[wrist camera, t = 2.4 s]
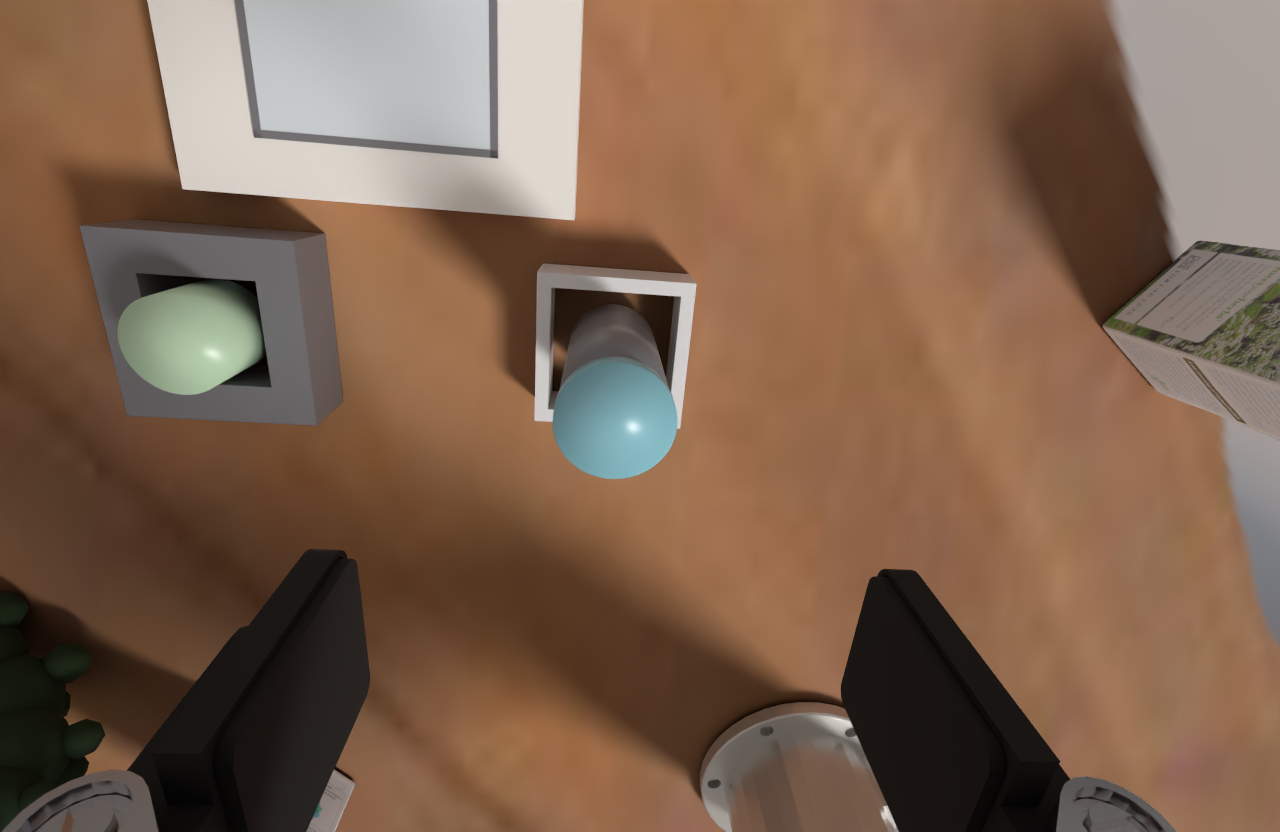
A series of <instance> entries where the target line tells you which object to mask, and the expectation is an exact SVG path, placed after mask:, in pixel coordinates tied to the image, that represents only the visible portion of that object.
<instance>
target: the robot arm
mask: <svg viewBox="0 0 1280 832" xmlns="http://www.w3.org/2000/svg"><path fill="white" fill-rule="evenodd" d="M369 682H370V672H369V663H368V654H367V646H366V637H365V628H364V620H363V611H362V602H361V593H360V585H359V576H358V567H357V563H356V561H355V560H354V559H347V555H346V553H345V552H344V551H342V550H317V549H310V550H307V551H306V552H305V553H304V554H303V555H302V557H301V558H300V559H299V561H298V562H297V563H296V564H295V566H294V567H293V568H292V570H291V571H290V572H289V574H288V575H287V576H286V578H285V579H284V580H283V581H282V583H281V584H280V585H279V587H278V588H277V589H276V591H275V592H274V593H273V595H272V596H271V597H270V599H269V600H268V601H267V602H266V604H265V605H264V606H263V608H262V609H261V610H260V612H259V613H258V614H257V616H256V617H255V618H254V619H253V621H252V622H251V623H250V625H249V626H245V627H243V628H240V629H239V630H238V631H237V632H236V633H235V634H234V635H233V636H232V637H231V638H230V639H229V641H228V642H227V643H226V644H225V646H224V647H223V648H222V649H221V651H220V652H219V653H218V655H217V656H216V657H215V658H214V660H213V661H212V662H211V664H210V665H209V666H208V667H207V669H206V670H205V671H204V673H203V674H202V675H201V676H200V678H199V679H198V680H197V681H196V683H195V684H194V685H193V687H192V688H191V689H190V690H189V692H188V693H187V694H186V696H185V697H184V698H183V699H182V701H181V702H180V703H179V705H178V706H177V707H176V708H175V710H174V711H173V712H172V713H171V715H170V716H169V717H168V719H167V720H166V721H165V722H164V724H163V725H162V726H161V728H160V729H159V730H158V731H157V733H156V734H155V735H154V736H153V738H152V739H151V740H150V742H149V743H148V744H147V745H146V747H145V748H144V749H143V751H142V752H141V753H140V754H139V756H138V757H137V758H136V760H135V761H134V762H133V763H132V765H131V766H130V767H129V768H128V770H127V771H123V770H108V771H102V772H96V773H91V774H88V775H85V776H82V777H80V778H77V779H74V780H71V781H68V782H66V783H65V784H63V785H61V786H59V787H57V788H55V789H53V790H52V791H50V792H48V793H46V794H44V795H43V796H41V797H40V798H39V799H37V800H36V801H35V802H33V803H32V804H31V805H29V806H28V807H26V808H25V809H24V810H22V811H21V812H20V813H19V814H18V815H17V816H16V817H15V818H14V819H13V820H12V821H11V822H10V823H9V824H8V825H7V826H6V827H5V828H4V830H3V831H2V832H306V831H307V829H308V827H309V825H310V822H311V820H312V818H313V816H314V813H315V811H316V809H317V807H318V804H319V802H320V800H321V798H322V795H323V793H324V791H325V789H326V786H327V784H328V782H329V780H330V777H331V775H332V773H333V771H334V768H335V766H336V764H337V762H338V759H339V757H340V755H341V753H342V750H343V748H344V746H345V744H346V741H347V739H348V737H349V735H350V732H351V730H352V728H353V726H354V723H355V721H356V719H357V716H358V714H359V712H360V710H361V707H362V705H363V703H364V701H365V698H366V696H367V692H368V689H369ZM841 697H842V702H843V705H844V708H845V709H844V708H842V707H839V706H836V705H830V704H825V703H819V702H796V703H788V704H781V705H777V706H773V707H770V708H766V709H763V710H760V711H758V712H756V713H753V714H751V715H749V716H746V717H745V718H743V719H742V720H740V721H738V722H737V723H735V724H733V725H732V726H731V727H729V728H728V729H727V730H726V731H725V732H724V733H722V734H721V735H720V736H719V737H718V738H717V740H716V741H715V742H714V743H713V745H712V746H711V747H710V748H709V750H708V752H707V754H706V756H705V758H704V760H703V762H702V767H701V771H700V789H701V794H702V799H703V804H704V806H705V808H706V811H707V813H708V815H709V816H710V817H711V818H712V820H713V821H714V822H715V823H716V824H717V825H718V826H719V827H720V828H722V829H723V830H724V831H726V832H1176V831H1175V829H1174V828H1173V827H1172V826H1171V825H1170V824H1169V823H1168V822H1167V820H1166V819H1165V818H1164V817H1163V816H1162V815H1161V814H1160V813H1159V812H1158V811H1156V810H1155V809H1154V808H1153V807H1151V806H1150V805H1149V804H1148V803H1146V802H1145V801H1144V800H1143V799H1141V798H1140V797H1138V796H1136V795H1135V794H1133V793H1131V792H1130V791H1128V790H1126V789H1125V788H1123V787H1121V786H1118V785H1116V784H1113V783H1111V782H1108V781H1106V780H1103V779H1098V778H1093V777H1088V776H1087V777H1075V778H1072V779H1071V780H1070V778H1069V777H1068V776H1067V774H1066V773H1065V772H1064V770H1063V769H1062V768H1061V766H1060V765H1059V763H1060V761H1059V759H1058V758H1057V757H1056V755H1055V754H1054V753H1053V751H1052V750H1051V749H1050V747H1049V746H1048V745H1047V743H1046V742H1045V741H1044V739H1043V738H1042V737H1041V735H1040V734H1039V733H1038V732H1037V730H1036V729H1035V728H1034V726H1033V725H1032V724H1031V722H1030V721H1029V720H1028V718H1027V717H1026V716H1025V714H1024V713H1023V712H1022V710H1021V709H1020V708H1019V706H1018V705H1017V704H1016V702H1015V701H1014V700H1013V698H1012V697H1011V696H1010V694H1009V693H1008V692H1007V691H1006V689H1005V688H1004V687H1003V685H1002V684H1001V683H1000V681H999V680H998V679H997V677H996V676H995V675H994V673H993V672H992V671H991V669H990V668H989V667H988V665H987V664H986V663H985V661H984V660H983V659H982V657H981V656H980V655H979V654H978V652H977V651H976V650H975V648H974V647H973V646H972V644H971V643H970V642H969V640H968V639H967V638H966V636H965V635H964V634H963V632H962V631H961V630H960V628H959V627H958V626H957V624H956V623H955V622H954V620H953V619H952V618H951V616H950V615H949V614H948V613H947V611H946V610H945V609H944V607H943V606H942V605H941V603H940V602H939V601H938V599H937V598H936V597H935V595H934V594H933V593H932V591H931V590H930V589H929V587H928V586H927V585H926V583H925V582H924V581H923V579H922V578H921V577H920V576H919V574H918V573H917V572H916V571H913V570H897V569H883V570H881V571H880V572H879V573H878V576H877V577H872V578H871V579H870V580H869V583H868V586H867V590H866V594H865V598H864V601H863V605H862V609H861V613H860V616H859V620H858V624H857V627H856V631H855V635H854V639H853V642H852V646H851V650H850V653H849V657H848V661H847V665H846V668H845V672H844V676H843V679H842V684H841Z"/></svg>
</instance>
